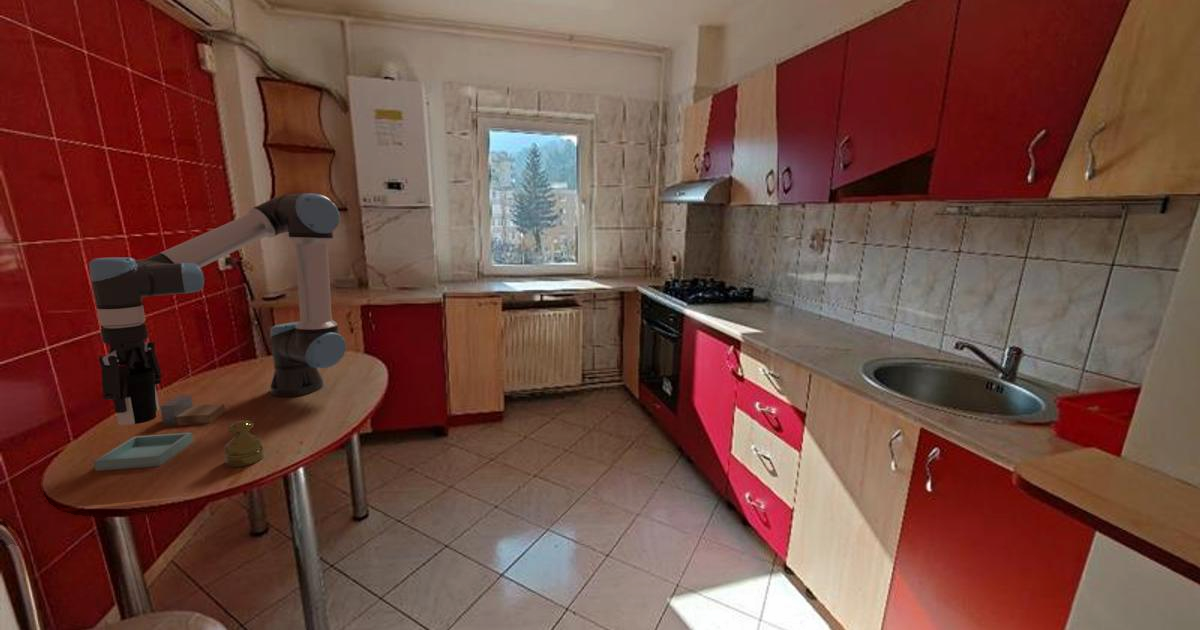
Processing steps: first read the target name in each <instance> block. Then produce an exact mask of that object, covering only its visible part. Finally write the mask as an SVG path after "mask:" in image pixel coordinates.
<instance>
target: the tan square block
mask: <svg viewBox="0 0 1200 630" xmlns="http://www.w3.org/2000/svg"><path fill="white" fill-rule="evenodd" d="M225 412H226V407H225V403H220V404H219V403H218V404H217V403H216V404H200V405H199V404H198V405H197V404H196V405H193V406H192V407H190V408H189V409H187V410H185V411H184V412H182V413H181V414H179V415H177V416H176V422H177V425H176V426H187V425H201V424H210V423H212V422H213V421H214V420H216V419H217V418H219V417H221V415H223V414H224V413H225Z"/></svg>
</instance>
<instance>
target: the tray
mask: <svg viewBox="0 0 1200 630" xmlns="http://www.w3.org/2000/svg"><path fill="white" fill-rule="evenodd" d="M193 442H194V436H193V432H181V433H180V432H179V433H167V434H166V433H164V434H152V435H137V436H135V435H134V436H133V437H131V438H129V439H128V440H126V441H124V442H123V443H121V444H119V445H118V446H116V447H115V448H113V449H111V450H110V451H108V452H107V453H105V454H103V455H101V456H99V457H98V458H96V459H95V460H93V466H94V468H95V472H101V471H113V470H125V469H135V468H137V469H138V468H150V467H151V468H152V467H161V466H162V465H164V464H165V463H166V462H167V461H169V460H171V459H172V458H173V457H174V456H176V455H178V453H180V452H181V451H183V450H184V449H186V448H187V447H188V446H189V445H191V444H192V443H193Z"/></svg>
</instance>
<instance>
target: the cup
mask: <svg viewBox="0 0 1200 630" xmlns="http://www.w3.org/2000/svg"><path fill="white" fill-rule="evenodd" d="M127 381H128V391H127V397H130V398H131V403H132V409H133V414H134V420H135V424H134V425H137V424H138V425H139V424H143V423H146V422H150V421H152V420H155V418H157V411H156V399H155V373H154V368H150V367H148V372H147V373H143V374H142V373H137V372H136V371H135V369H134V367H133V368H132V369H130V375H129V376H127ZM120 394H121V393H120Z"/></svg>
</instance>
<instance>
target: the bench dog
mask: <svg viewBox="0 0 1200 630" xmlns="http://www.w3.org/2000/svg"><path fill="white" fill-rule="evenodd" d="M192 406H194V405H193V399H192V394H183V395H178V396H176V397H174V398H172V399H169V401H167V402H165V403H164V404H162V405H159V409H160V413H161V418H162V419H161V420H162V422H163V427H171V426H174V427H175V426H178V425H177V422H176V416H177V415H179V414H181V413H182V412H184V411H185V410H187V409H189V408H190V407H192Z"/></svg>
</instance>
